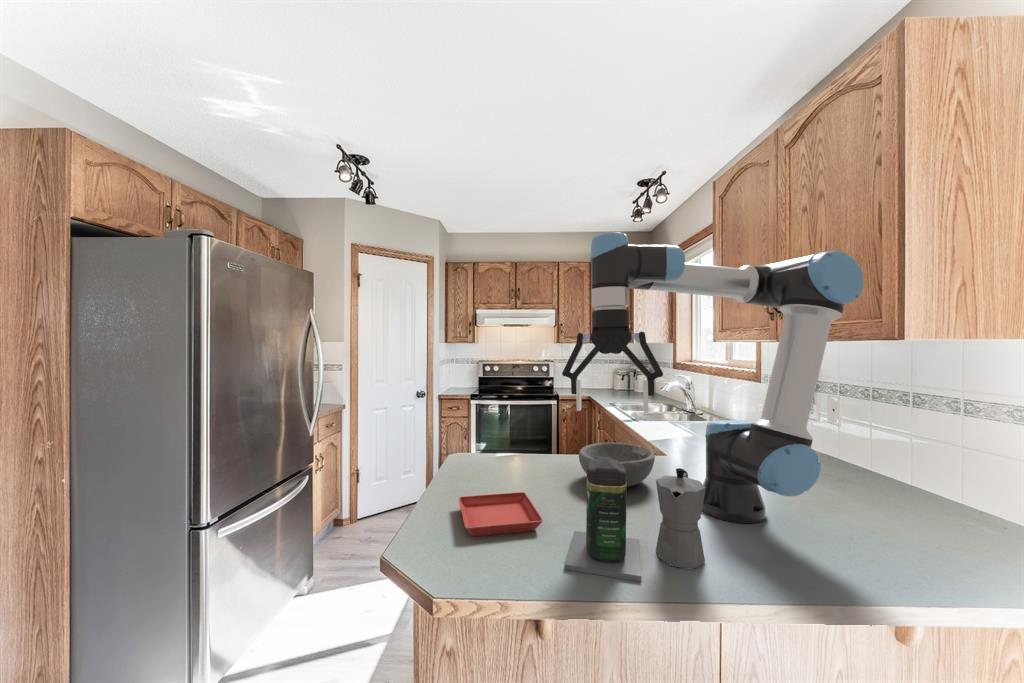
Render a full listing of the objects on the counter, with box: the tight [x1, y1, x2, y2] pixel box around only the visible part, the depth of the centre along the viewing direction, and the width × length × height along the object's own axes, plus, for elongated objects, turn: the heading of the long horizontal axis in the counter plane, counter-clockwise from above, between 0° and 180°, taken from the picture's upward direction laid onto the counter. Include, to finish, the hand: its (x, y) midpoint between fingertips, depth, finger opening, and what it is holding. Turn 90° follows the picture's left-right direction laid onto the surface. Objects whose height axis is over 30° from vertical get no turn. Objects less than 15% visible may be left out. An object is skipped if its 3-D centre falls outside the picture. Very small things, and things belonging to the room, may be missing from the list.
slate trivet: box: [564, 530, 642, 582], centre depth 83 cm, size 14×14×1 cm
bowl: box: [578, 442, 656, 488], centre depth 125 cm, size 23×22×10 cm
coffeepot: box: [655, 467, 706, 569], centre depth 83 cm, size 15×9×18 cm, turn 151°
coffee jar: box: [585, 457, 627, 562], centre depth 83 cm, size 10×8×19 cm
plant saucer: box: [458, 491, 544, 537], centre depth 99 cm, size 18×18×3 cm
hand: (611, 410), depth 85 cm, fingers open, 13 cm apart
